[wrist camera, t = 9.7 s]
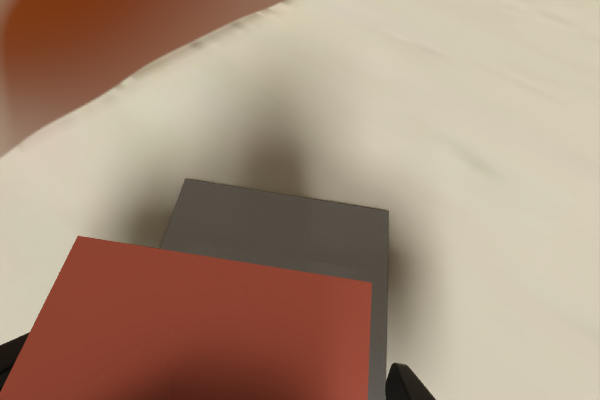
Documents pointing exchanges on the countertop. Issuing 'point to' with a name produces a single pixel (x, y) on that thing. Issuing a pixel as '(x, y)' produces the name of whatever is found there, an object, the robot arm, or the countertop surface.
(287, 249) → the plate
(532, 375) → the countertop surface
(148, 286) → the block
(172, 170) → the countertop surface
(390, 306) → the countertop surface
